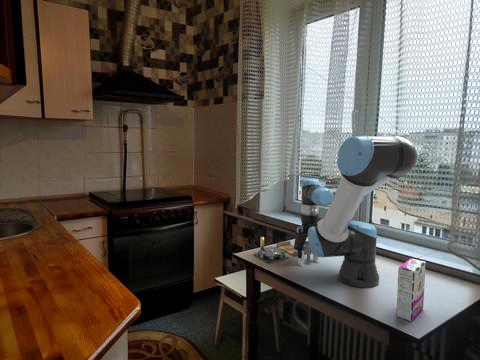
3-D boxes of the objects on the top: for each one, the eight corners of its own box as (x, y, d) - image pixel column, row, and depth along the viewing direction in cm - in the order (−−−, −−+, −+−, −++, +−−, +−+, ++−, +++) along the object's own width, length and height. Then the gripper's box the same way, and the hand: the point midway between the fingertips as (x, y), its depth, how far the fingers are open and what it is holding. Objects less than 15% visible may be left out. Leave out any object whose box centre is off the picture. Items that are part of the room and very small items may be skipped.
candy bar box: (407, 304, 111) (410, 257, 109) (423, 309, 108) (427, 261, 106) (394, 316, 103) (397, 266, 101) (411, 322, 100) (415, 271, 98)
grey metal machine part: (269, 261, 147) (270, 244, 146) (252, 253, 157) (252, 237, 156) (290, 255, 154) (290, 239, 153) (272, 248, 165) (272, 233, 164)
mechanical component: (320, 264, 146) (320, 243, 145) (297, 264, 146) (297, 243, 145) (319, 262, 149) (319, 240, 148) (296, 262, 149) (296, 241, 148)
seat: (308, 254, 160) (308, 249, 159) (295, 257, 156) (295, 252, 156) (288, 245, 173) (289, 241, 173) (276, 247, 169) (276, 243, 169)
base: (289, 258, 154) (289, 256, 154) (267, 263, 148) (267, 261, 148) (274, 251, 164) (274, 249, 164) (253, 255, 158) (253, 253, 158)
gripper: (296, 217, 137) (295, 270, 140) (333, 212, 147) (331, 261, 150) (285, 214, 143) (284, 264, 146) (321, 209, 153) (319, 256, 156)
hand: (308, 262), depth 148 cm, fingers closed on mechanical component, 8 cm apart
